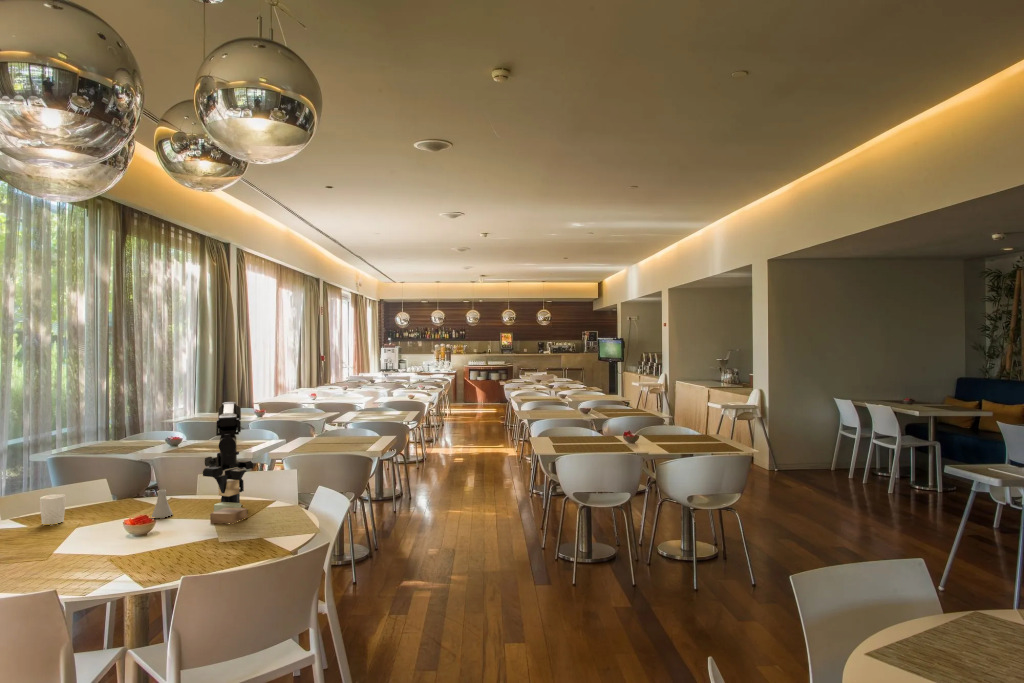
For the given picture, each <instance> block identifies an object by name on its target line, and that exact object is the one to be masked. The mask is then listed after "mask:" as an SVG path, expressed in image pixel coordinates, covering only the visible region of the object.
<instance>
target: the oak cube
mask: <svg viewBox="0 0 1024 683" xmlns="http://www.w3.org/2000/svg"><path fill="white" fill-rule="evenodd" d="M217 485H218V484H217ZM239 489H240V488H239V480H232V479H228V480H227V483H226V489H225V493H221V490H220V488H219V485H218V496H221V497H222V496H232V495H236V494H239Z"/></svg>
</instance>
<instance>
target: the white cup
mask: <svg viewBox="0 0 1024 683" xmlns="http://www.w3.org/2000/svg"><path fill="white" fill-rule="evenodd" d="M39 510H40V511H39V512H40V518H41V525H42V524H55V523H60V522H63V521H64V522H65V512H66V494H64V493H57V494H56V493H55V494H54V493H53V494H47V495H44V496H40V497H39ZM64 522H63V523H64Z"/></svg>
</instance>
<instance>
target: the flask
mask: <svg viewBox="0 0 1024 683" xmlns="http://www.w3.org/2000/svg"><path fill="white" fill-rule="evenodd" d="M156 493H157V499H156V503H155V506H154V509H153V511H152V514H151V516H152V517H155V518H160V519H166V518H165V517H167V518H169V517H168V516H170V517H172V516H173V515H174V513H173V511H172V509H171V507H170V505H169V502H168V499H167V490H166V489H160V490H156ZM171 515H172V516H171Z"/></svg>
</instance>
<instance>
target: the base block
mask: <svg viewBox="0 0 1024 683" xmlns="http://www.w3.org/2000/svg"><path fill="white" fill-rule="evenodd" d="M209 514H210V515H209V516H210V518H209V519H210V524H212V523H230V524H232V523H235V522H237V521H239V520H242V519H244V518H247V519H248V508H245V507H244V508H243V507H241V508H228V507H226V508H224V509H221V510H218V511H215V512H214V511H213V512H210V513H209ZM242 521H243V520H242ZM237 523H238V522H237ZM235 524H236V523H235ZM232 525H233V524H232Z"/></svg>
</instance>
